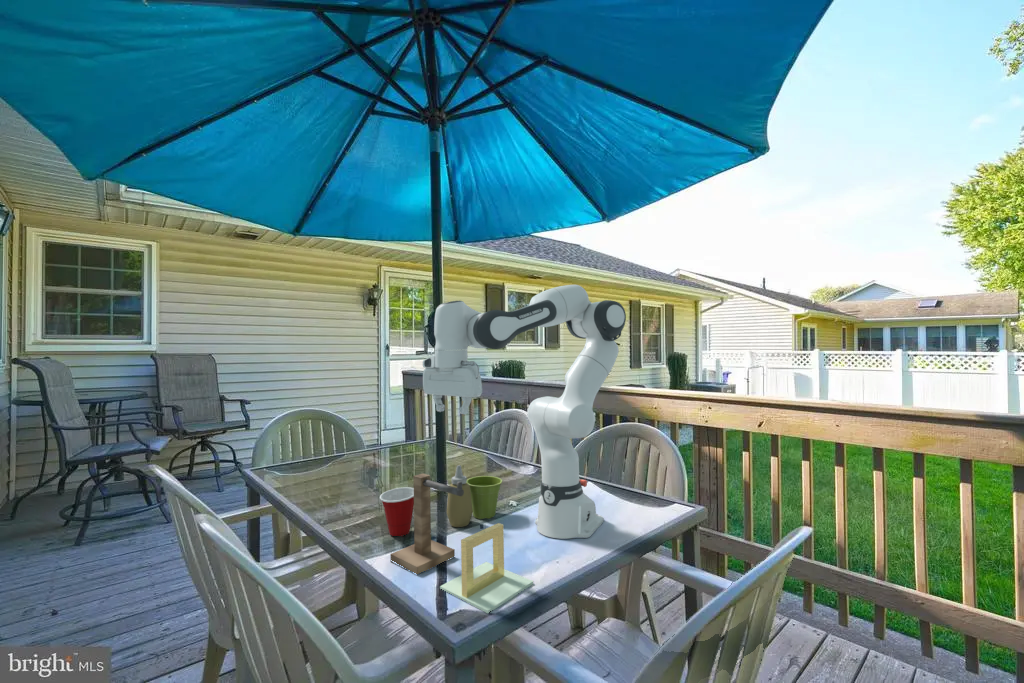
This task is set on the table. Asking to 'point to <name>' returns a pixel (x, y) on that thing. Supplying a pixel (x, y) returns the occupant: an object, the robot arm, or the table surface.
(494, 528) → the yellow picture frame
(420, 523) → the hook stand
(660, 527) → the table surface
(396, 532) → the plastic cup
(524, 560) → the table surface
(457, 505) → the squeeze bottle
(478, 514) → the plant pot
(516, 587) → the sage mat
